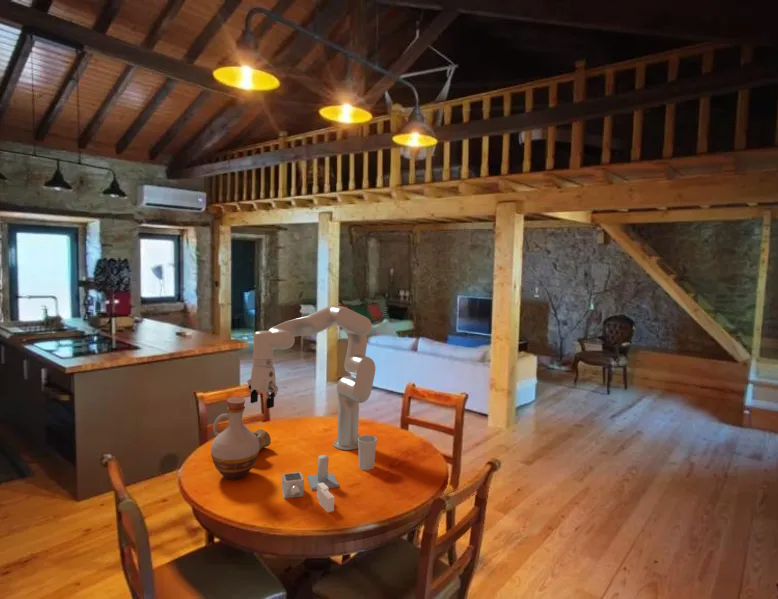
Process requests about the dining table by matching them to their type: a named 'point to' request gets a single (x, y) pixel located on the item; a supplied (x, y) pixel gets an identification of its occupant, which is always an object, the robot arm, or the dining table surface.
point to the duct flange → (322, 475)
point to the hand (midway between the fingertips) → (262, 404)
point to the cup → (366, 451)
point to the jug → (234, 443)
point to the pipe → (263, 438)
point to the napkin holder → (325, 497)
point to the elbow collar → (292, 485)
